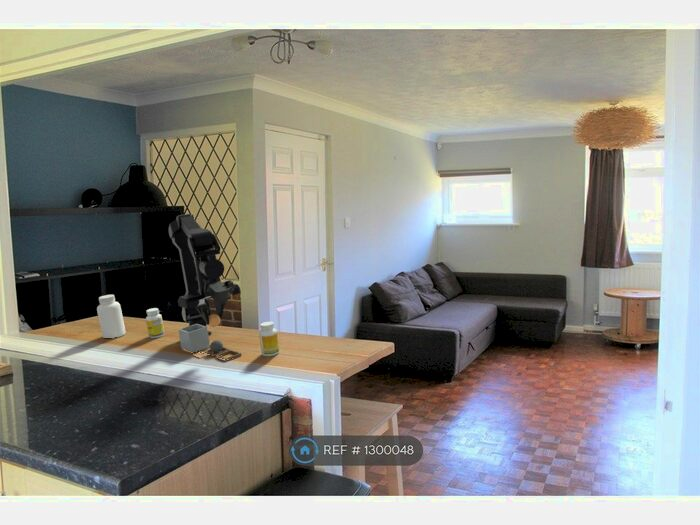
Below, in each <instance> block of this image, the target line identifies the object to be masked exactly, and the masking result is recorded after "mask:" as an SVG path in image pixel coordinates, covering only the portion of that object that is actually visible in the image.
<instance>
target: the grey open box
mask: <svg viewBox="0 0 700 525" xmlns="http://www.w3.org/2000/svg"><path fill="white" fill-rule="evenodd" d="M206 326H207V325H206ZM206 326H203V325H199V324H194V325H191V326H189V325H188V326H185V327H182V328H179V329H178V328H177V329H178V334H179V335H178V336H179V341H180V347H181V350H182V349H185V350H187V351H190V352H196V351H199V352H201V351H203V350H208V349H209V348H210V345H211V343H210V338H209V335H208V331H209V330H208V326H207V327H206ZM200 350H201V351H200ZM196 353H197V352H196Z"/></svg>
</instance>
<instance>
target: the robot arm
mask: <svg viewBox="0 0 700 525" xmlns="http://www.w3.org/2000/svg"><path fill="white" fill-rule="evenodd" d="M168 235H169V238H170V239H171V241H172V244H173V245H174V246H175V247H176V249H178V252H179V257H180V258H179V259H180V264H181V269H182V274H183V281H184V285H185V294H184V295H181V296H179V297H178V299H177V303H178V307H180V308H181V309H182V310H181V316H182V320H183V321H184V322H185V323H188V326H191V325H194V324H199V325H203V326H206V327H207V328H208V324H209V316H210V315H211V303H210V302H209V300H208V299H213V303H214V307H215V312H216V314H217V315H218V316H219V317H220V321H222V318H223V314H224V309H225V306H226V303H227V302H228V300H230V299H231V296H230V295H232V296H235V295H239V294H241V293H242V291H241V287H240V285H239V284H238V283H234V281H233V280H231V279H229V280H225V281H221V277H222V276H223V275H224V273H225V265H224V264H223V262H222V261H221V260H220V259H218V258H217V256H216V255H220V254H221V246H220V243H219V241H218V239H217V236H215V234H214V233H213V232H212V231H211V230H209V229H208V228H202V227H201V226H200V224H199V223H198V222H197V221H196V219H195V217H194V214H191V213H186V214H185V213H184V214H179V215H177V216H176V219H174V220H173V221H172V222H170V223H169V226H168ZM207 331H208V336H209V335H211V334H213V332H212V331H209V330H207Z"/></svg>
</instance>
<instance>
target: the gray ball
mask: <svg viewBox="0 0 700 525" xmlns="http://www.w3.org/2000/svg"><path fill="white" fill-rule="evenodd" d="M223 347H224V344H223V342H222V341H221V340H217V339H216V340H213V341H212V342H211V343H210V349H211V351H212V352H211V353H213V354H216V353H219V352H222V351H223V350H222V349H223ZM210 349H209V350H210Z"/></svg>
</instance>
